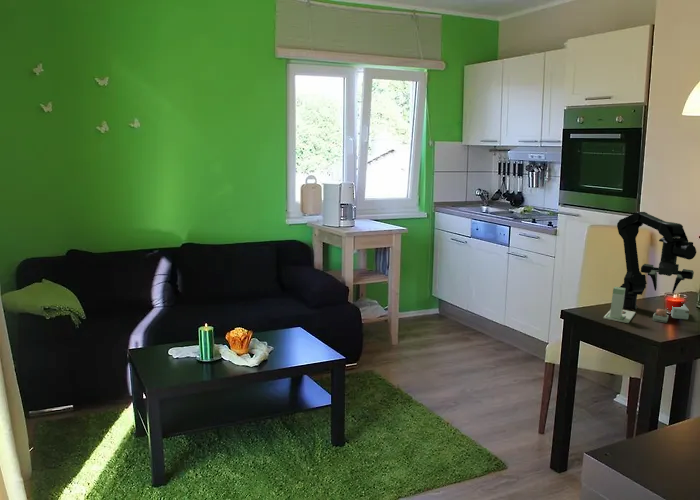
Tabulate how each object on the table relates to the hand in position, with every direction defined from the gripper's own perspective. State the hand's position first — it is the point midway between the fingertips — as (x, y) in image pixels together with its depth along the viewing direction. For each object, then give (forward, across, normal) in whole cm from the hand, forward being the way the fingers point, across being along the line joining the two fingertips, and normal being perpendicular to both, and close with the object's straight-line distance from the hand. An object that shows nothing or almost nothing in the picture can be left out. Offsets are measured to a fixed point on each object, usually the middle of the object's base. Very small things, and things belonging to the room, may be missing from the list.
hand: (664, 291), depth 251 cm
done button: (+10, 0, 0) cm, 10 cm away
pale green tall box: (+11, -16, -10) cm, 21 cm away
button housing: (+12, 0, 0) cm, 12 cm away
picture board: (+12, -15, -5) cm, 20 cm away
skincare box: (+10, +4, +20) cm, 22 cm away
